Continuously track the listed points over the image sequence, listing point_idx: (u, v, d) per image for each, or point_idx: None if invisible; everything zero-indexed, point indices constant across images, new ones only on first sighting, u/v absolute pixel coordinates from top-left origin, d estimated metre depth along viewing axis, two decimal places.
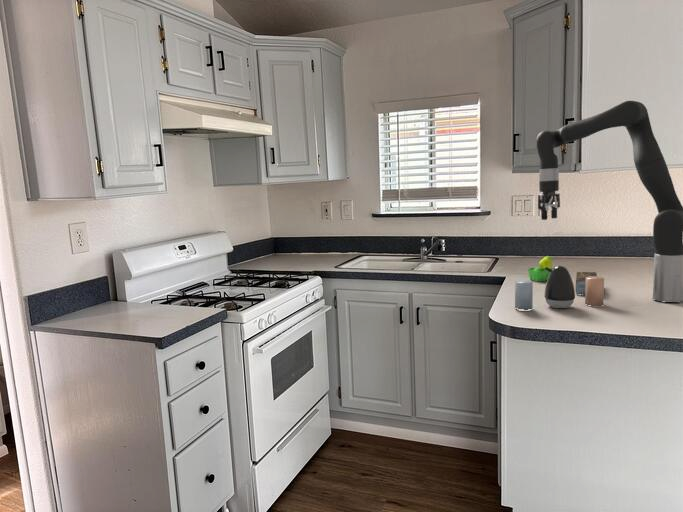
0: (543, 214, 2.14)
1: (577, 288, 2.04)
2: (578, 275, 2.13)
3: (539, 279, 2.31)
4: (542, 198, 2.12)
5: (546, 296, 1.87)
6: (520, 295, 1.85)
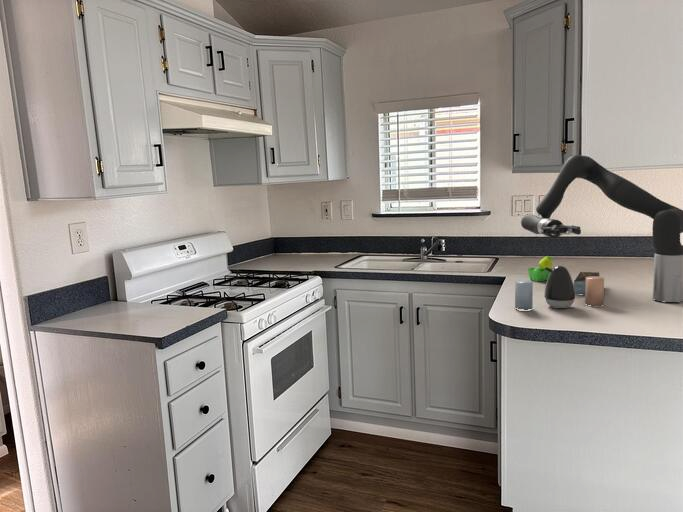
0: (553, 231, 2.01)
1: (574, 288, 2.05)
2: (579, 275, 2.13)
3: (539, 279, 2.31)
4: (542, 229, 2.08)
5: (546, 296, 1.87)
6: (520, 295, 1.85)
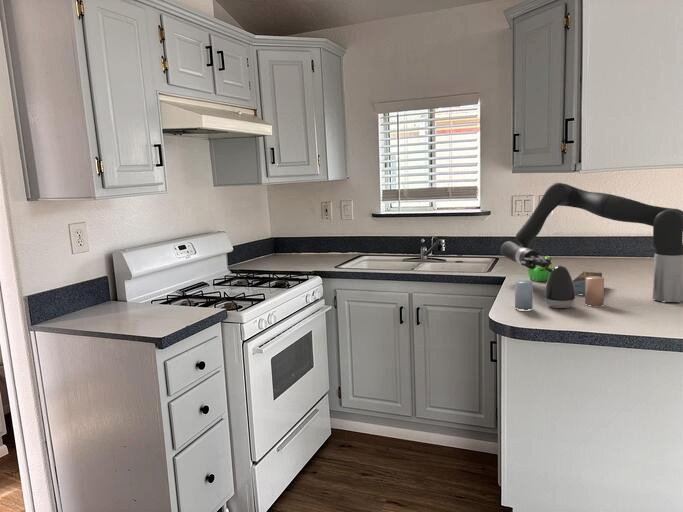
0: (540, 263, 1.98)
1: None
2: (580, 275, 2.13)
3: (539, 279, 2.31)
4: (524, 260, 2.04)
5: (546, 296, 1.87)
6: (520, 295, 1.85)
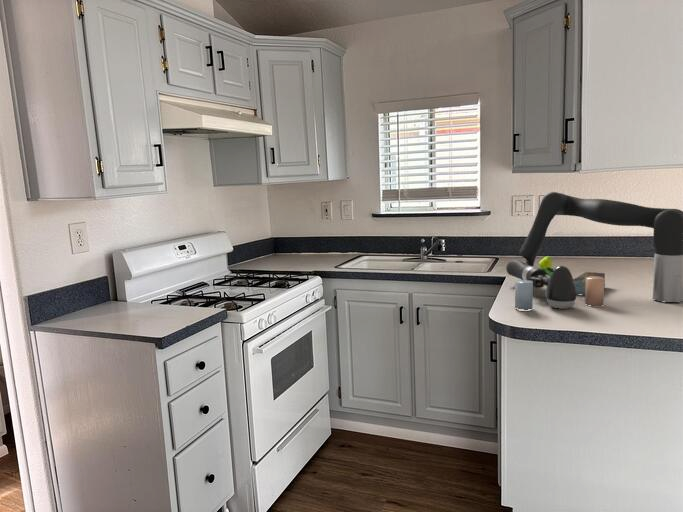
0: (547, 283, 1.93)
1: None
2: (581, 275, 2.13)
3: None
4: (531, 280, 1.98)
5: (547, 296, 1.86)
6: (520, 295, 1.85)
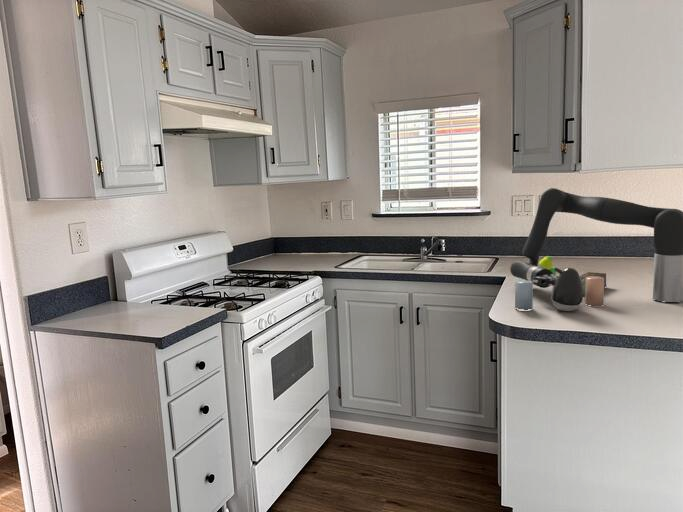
0: (553, 282, 1.88)
1: None
2: (582, 275, 2.13)
3: None
4: (536, 279, 1.93)
5: (553, 298, 1.81)
6: (520, 295, 1.85)
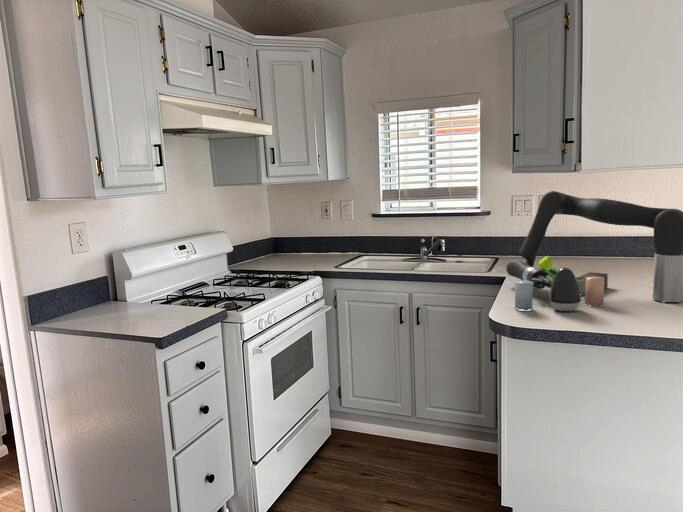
0: (549, 285, 1.91)
1: None
2: (583, 275, 2.13)
3: None
4: (532, 281, 1.97)
5: (551, 299, 1.82)
6: (520, 295, 1.85)
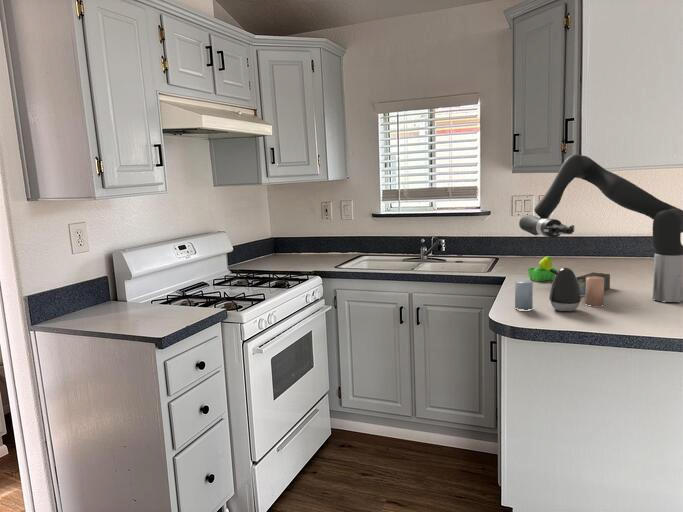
0: (563, 230, 1.99)
1: None
2: (584, 275, 2.13)
3: (539, 279, 2.31)
4: (547, 228, 2.04)
5: (552, 299, 1.82)
6: (520, 295, 1.85)
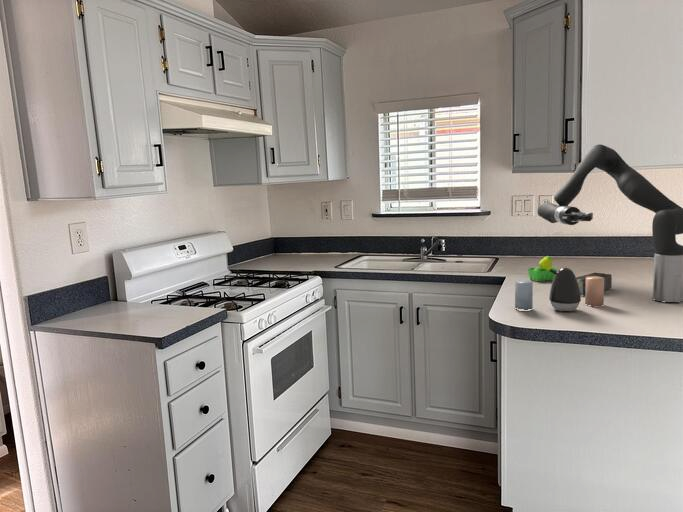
0: (582, 217, 2.02)
1: None
2: (585, 275, 2.13)
3: (539, 279, 2.31)
4: (565, 216, 2.07)
5: (551, 299, 1.82)
6: (520, 295, 1.85)
